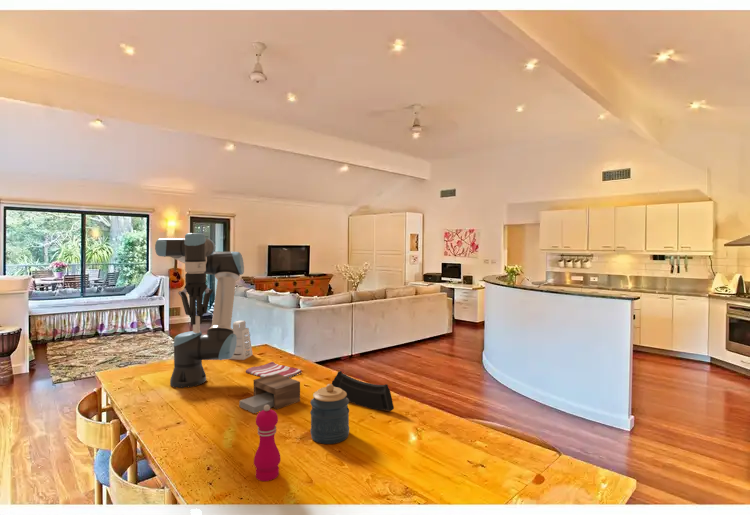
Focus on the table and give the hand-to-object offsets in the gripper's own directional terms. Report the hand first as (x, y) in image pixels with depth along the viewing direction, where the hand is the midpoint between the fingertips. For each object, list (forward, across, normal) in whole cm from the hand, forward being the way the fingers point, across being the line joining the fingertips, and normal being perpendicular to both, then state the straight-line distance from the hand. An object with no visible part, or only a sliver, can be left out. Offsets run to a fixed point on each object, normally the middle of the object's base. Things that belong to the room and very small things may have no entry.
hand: (196, 332), depth 167 cm
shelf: (+29, +24, -18) cm, 42 cm away
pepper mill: (+30, -10, -63) cm, 70 cm away
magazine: (+30, +45, -46) cm, 71 cm away
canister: (+30, +18, -58) cm, 68 cm away
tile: (+30, +20, -18) cm, 40 cm away
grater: (+30, +49, +52) cm, 77 cm away
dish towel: (+30, +45, +13) cm, 56 cm away
